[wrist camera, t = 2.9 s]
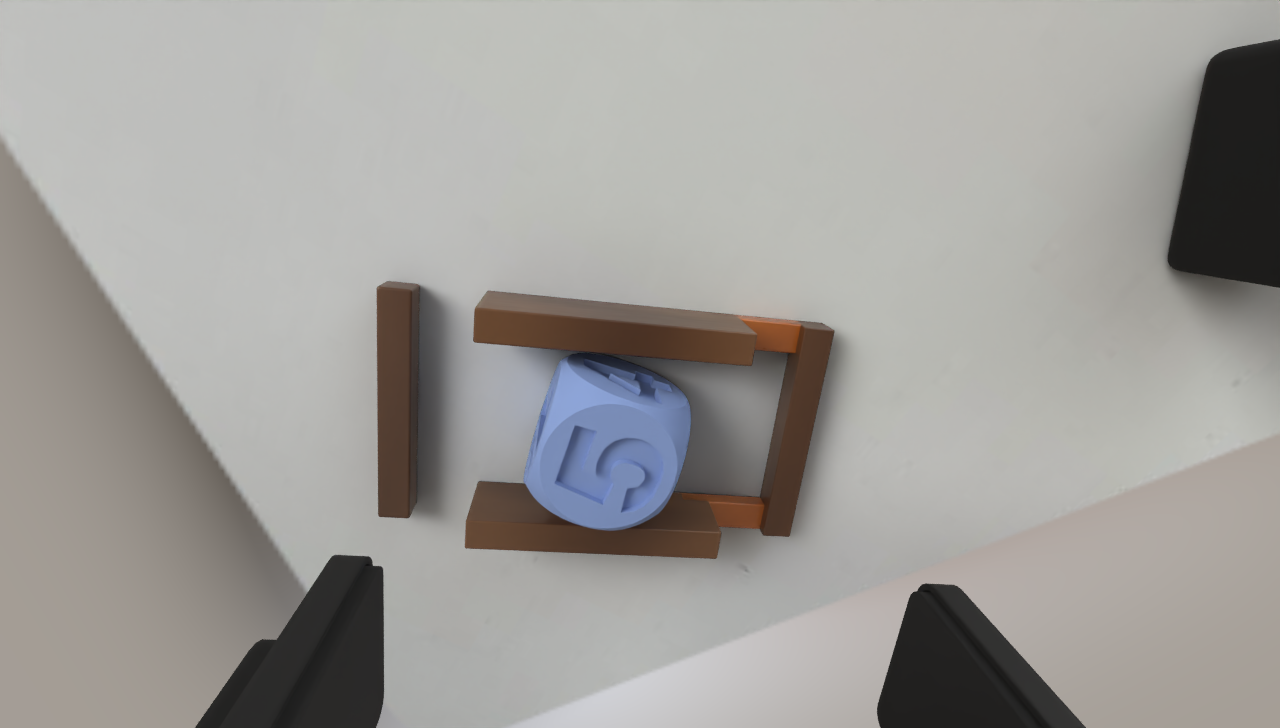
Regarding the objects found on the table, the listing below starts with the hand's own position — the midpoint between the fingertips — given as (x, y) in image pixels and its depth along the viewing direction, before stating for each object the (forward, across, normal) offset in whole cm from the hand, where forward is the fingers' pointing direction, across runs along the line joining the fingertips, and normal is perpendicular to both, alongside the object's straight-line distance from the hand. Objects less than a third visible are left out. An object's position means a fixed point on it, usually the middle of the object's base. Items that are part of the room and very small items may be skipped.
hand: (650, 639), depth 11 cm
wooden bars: (+10, 0, 0) cm, 11 cm away
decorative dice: (+11, 0, 0) cm, 11 cm away
